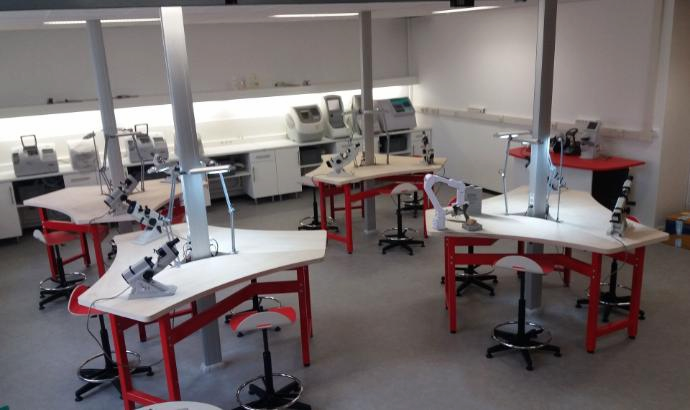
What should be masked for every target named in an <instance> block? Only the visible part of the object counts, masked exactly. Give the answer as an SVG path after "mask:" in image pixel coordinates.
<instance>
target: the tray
mask: <svg viewBox="0 0 690 410" xmlns="http://www.w3.org/2000/svg"><path fill="white" fill-rule="evenodd" d="M461 228H462V229H464V230H465V231H468V232H472V231H479V229H480V230H483V224H481V223H479V222H477V225H475V226H468V225H467V222H464V223H463V222H462V223H461Z"/></svg>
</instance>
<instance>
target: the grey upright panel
mask: <svg viewBox="0 0 690 410" xmlns="http://www.w3.org/2000/svg"><path fill="white" fill-rule="evenodd" d="M465 186H466V185H465ZM467 201H468V202H469V204H468V205H469V206H468V208H467V210H466V212H467V213H468V214H469V215H482V209H483V208H482V205H483V204H482V203H483V186H482V187H480V186H478V187H476V186H475V184H470V185H468V186H466V188H465V189H464V202H467ZM461 209H463V205H462V206H461Z"/></svg>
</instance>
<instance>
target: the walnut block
mask: <svg viewBox="0 0 690 410" xmlns="http://www.w3.org/2000/svg"><path fill="white" fill-rule="evenodd" d="M477 221H478V220H476V219H474V218H470V219H468V220H467V222H466V223H467V225H468V226H475V225H477V223H478V222H477Z"/></svg>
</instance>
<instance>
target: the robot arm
mask: <svg viewBox="0 0 690 410" xmlns="http://www.w3.org/2000/svg"><path fill="white" fill-rule="evenodd" d="M423 181H424V182H423V189H424V192H426V195H427V196H428V198H429V200H430V202H431V204H432V205H433V207H434V210H435V216H436V217H433V218H432V226H431V228H433V229H434V230H436V231H439V230H446V229H448V226H447V227H446V216H447V215H446V209H445V210H444V209H443V207H442V206H441V203H440V202H439V201H438V197H436V194H435V193H434V191H433V189H432V187H433V186H434V184H436V183H438V182H442V183H444V184H447V185H448V186H449V187H451V188H455V189H456V202H452V203H451V208H452V209H454V212H455V215H457V210H458V206H460V205H463V213H464V214H465V213H466V210H467V208H468V206H469V205H468V204H469V202H468V201H467V202H464V189H465V188H467V187H466V184H465V182H463V181H462V180H456V179H455V178H449V179H448V178H446V177H443V176H440V175H437V174H432V173H427V174H425V176H424V178H423ZM436 214H437V215H436ZM457 216H458V215H457Z"/></svg>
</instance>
